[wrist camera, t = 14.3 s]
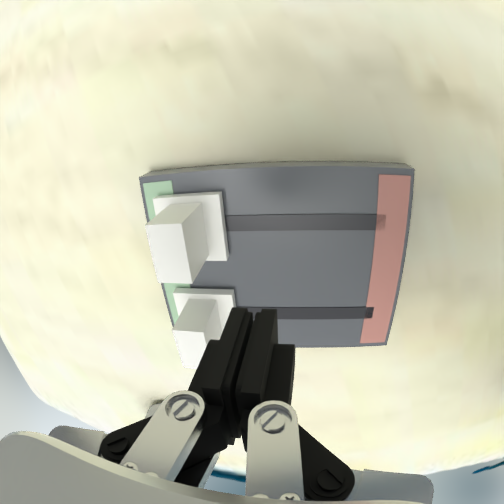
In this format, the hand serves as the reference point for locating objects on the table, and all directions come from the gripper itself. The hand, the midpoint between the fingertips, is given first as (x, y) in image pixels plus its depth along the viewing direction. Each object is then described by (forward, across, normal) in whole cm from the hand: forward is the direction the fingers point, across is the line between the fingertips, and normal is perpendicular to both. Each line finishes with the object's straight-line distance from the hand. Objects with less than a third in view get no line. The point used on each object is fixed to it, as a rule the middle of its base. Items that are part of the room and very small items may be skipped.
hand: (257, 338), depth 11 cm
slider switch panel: (+14, +1, +4) cm, 14 cm away
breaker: (+11, +7, +8) cm, 15 cm away
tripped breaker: (+11, +7, 0) cm, 13 cm away
